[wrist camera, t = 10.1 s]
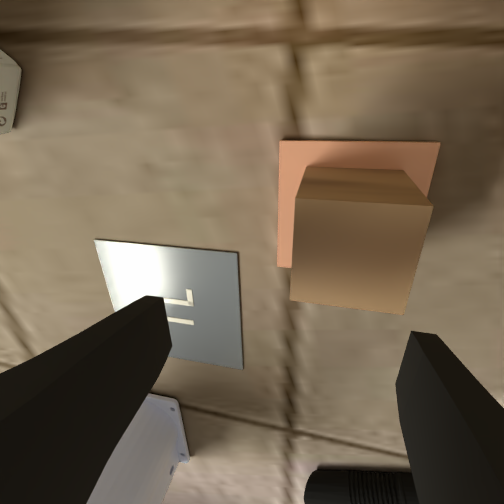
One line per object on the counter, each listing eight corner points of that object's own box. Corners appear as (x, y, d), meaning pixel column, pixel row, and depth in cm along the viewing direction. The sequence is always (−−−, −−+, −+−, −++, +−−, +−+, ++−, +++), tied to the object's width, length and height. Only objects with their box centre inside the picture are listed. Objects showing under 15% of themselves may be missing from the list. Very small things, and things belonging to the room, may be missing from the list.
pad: (404, 276, 17) (406, 279, 16) (278, 263, 18) (277, 266, 18) (438, 141, 13) (440, 142, 13) (280, 139, 15) (279, 140, 15)
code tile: (243, 368, 23) (242, 370, 23) (126, 348, 25) (125, 349, 25) (237, 252, 19) (236, 253, 18) (94, 239, 21) (93, 240, 21)
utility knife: (626, 472, 20) (670, 530, 17) (619, 506, 21) (658, 564, 19) (303, 460, 27) (299, 499, 25) (314, 485, 29) (313, 524, 26)
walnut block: (385, 254, 16) (403, 314, 12) (300, 246, 17) (289, 300, 13) (403, 170, 14) (433, 206, 10) (306, 166, 15) (295, 198, 11)
